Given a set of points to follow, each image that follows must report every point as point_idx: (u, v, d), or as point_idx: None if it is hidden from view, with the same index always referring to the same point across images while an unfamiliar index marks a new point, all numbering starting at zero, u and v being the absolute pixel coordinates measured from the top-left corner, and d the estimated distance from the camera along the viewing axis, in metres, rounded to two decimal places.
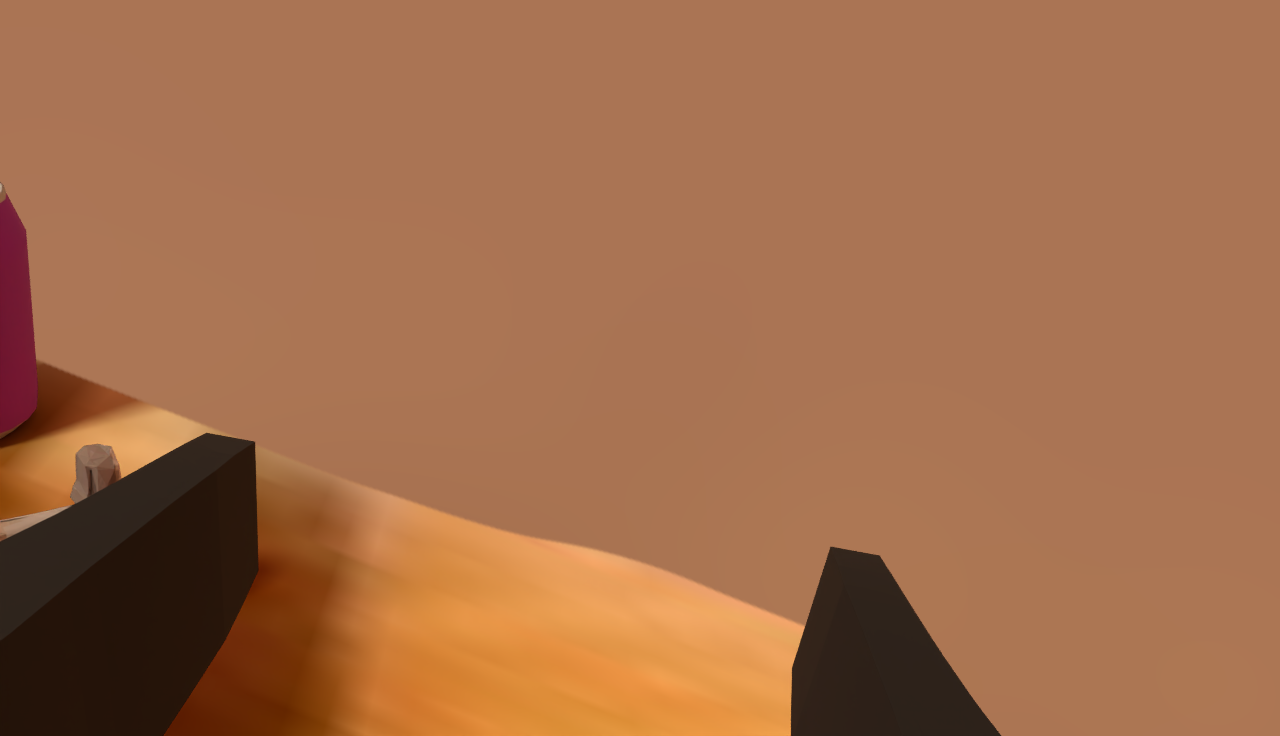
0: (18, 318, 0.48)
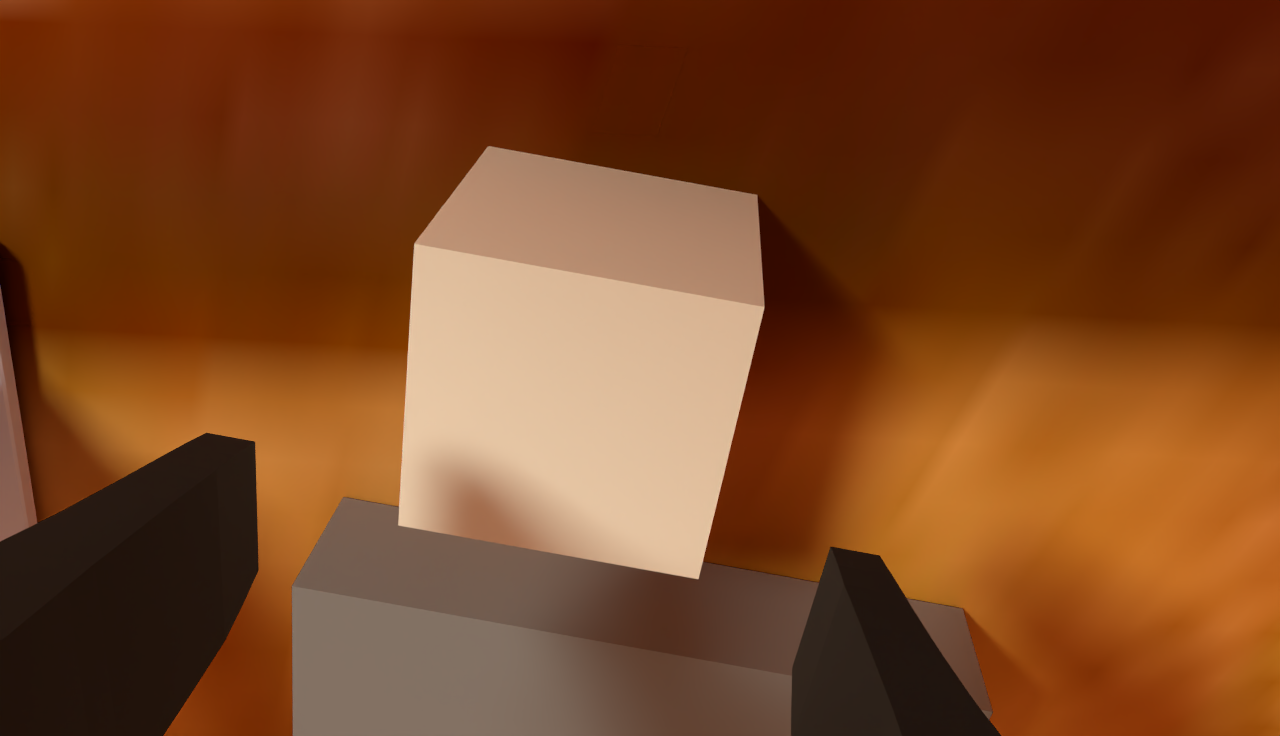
0: None
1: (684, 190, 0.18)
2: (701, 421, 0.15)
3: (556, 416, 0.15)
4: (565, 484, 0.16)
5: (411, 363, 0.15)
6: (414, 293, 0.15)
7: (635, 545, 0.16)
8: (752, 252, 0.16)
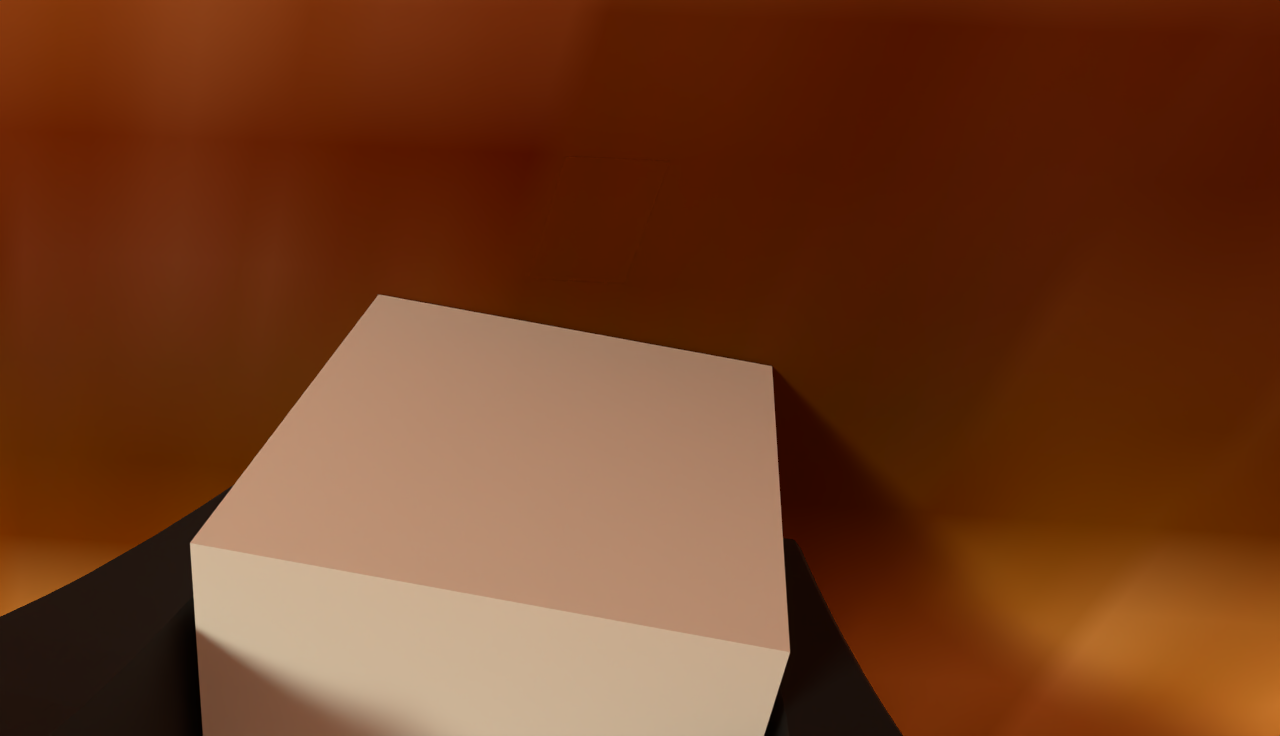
0: None
1: (664, 368, 0.12)
2: None
3: None
4: None
5: (207, 710, 0.09)
6: (200, 613, 0.09)
7: None
8: (767, 505, 0.10)
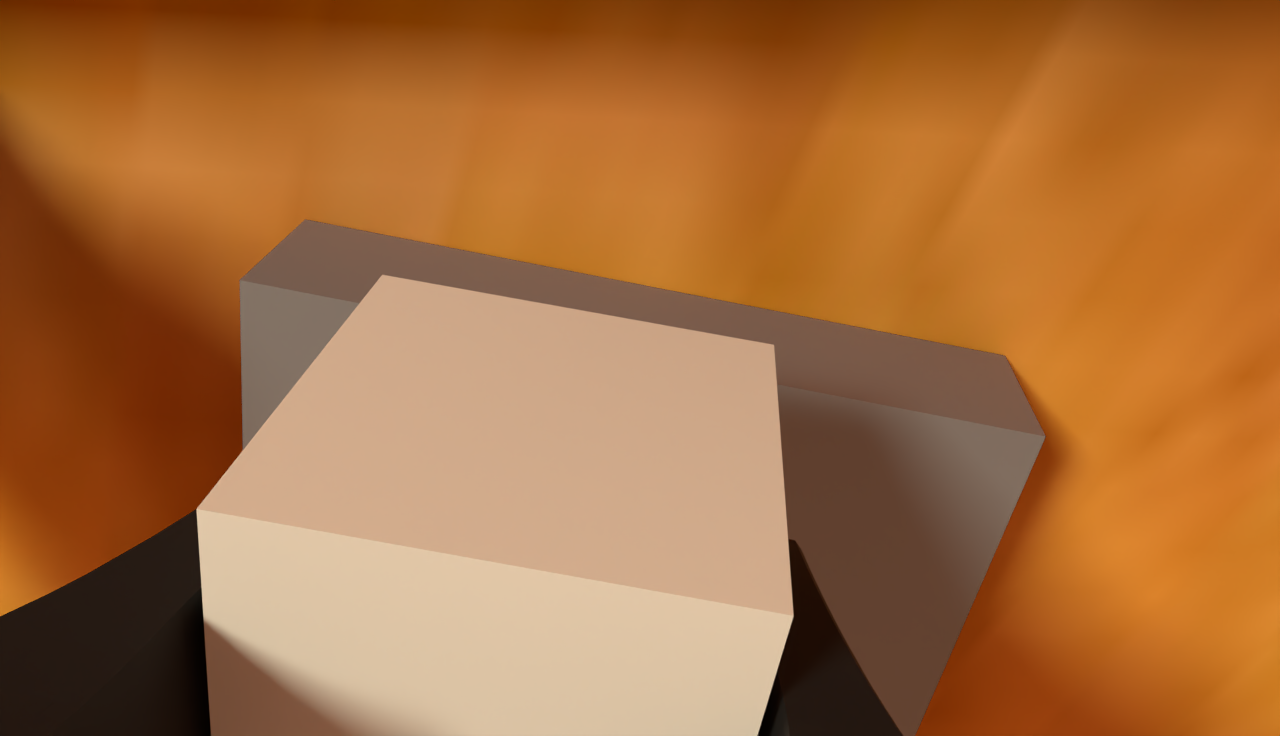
0: None
1: (666, 346, 0.12)
2: None
3: None
4: None
5: (213, 680, 0.09)
6: (206, 580, 0.09)
7: None
8: (769, 476, 0.10)
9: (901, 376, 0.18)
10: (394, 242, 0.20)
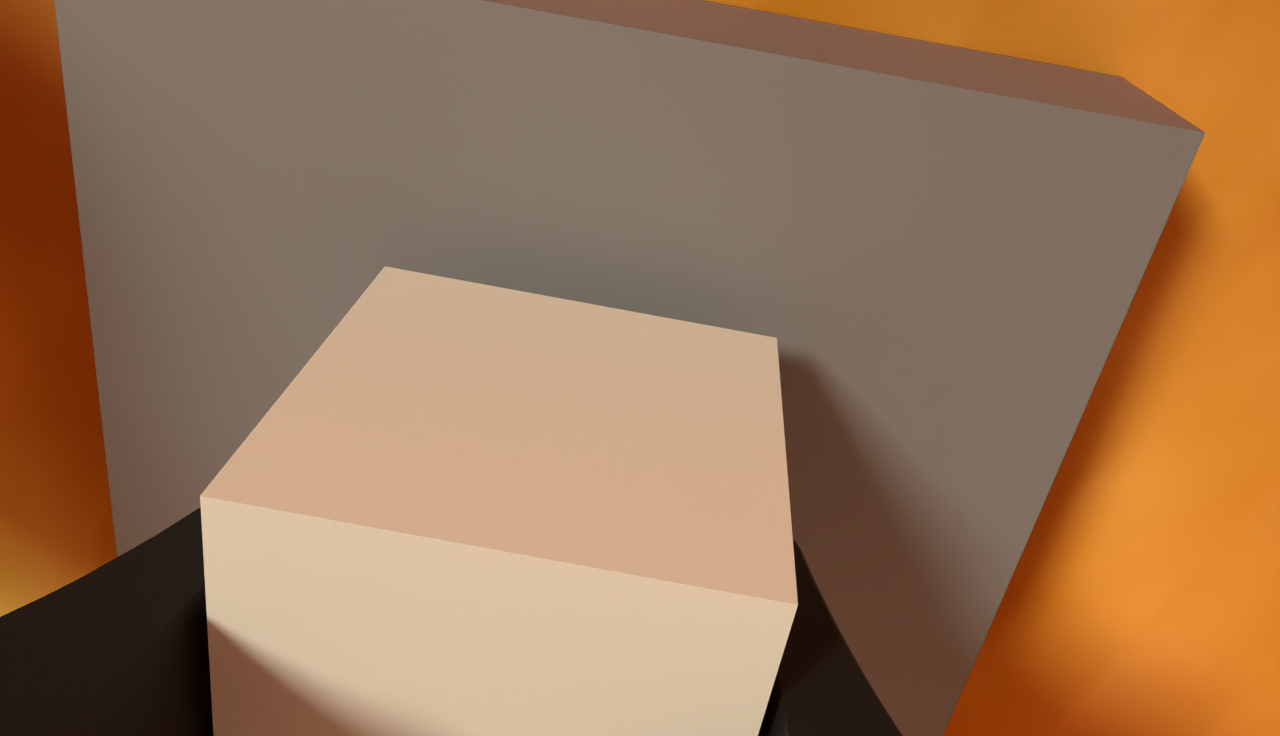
0: None
1: (669, 338, 0.12)
2: None
3: None
4: None
5: (215, 668, 0.09)
6: (209, 568, 0.09)
7: None
8: (773, 467, 0.10)
9: (989, 74, 0.13)
10: None
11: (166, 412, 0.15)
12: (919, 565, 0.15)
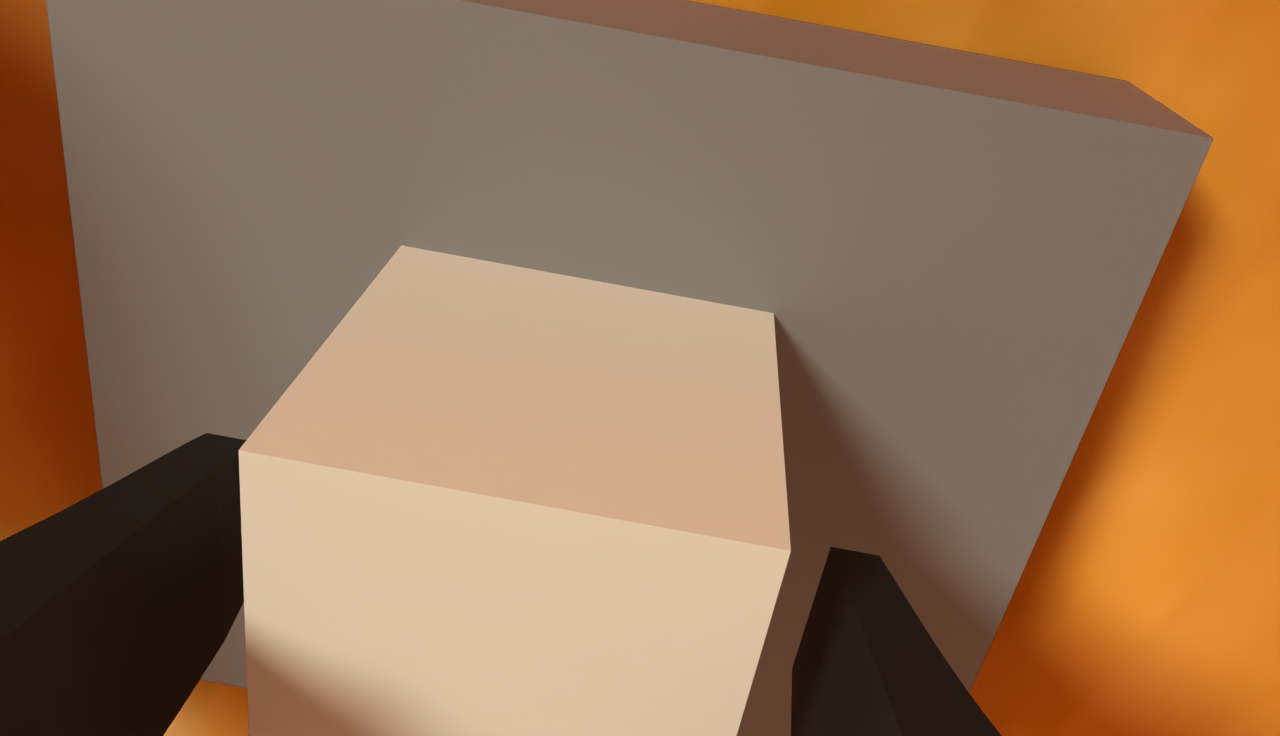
0: None
1: (672, 313, 0.13)
2: (692, 701, 0.10)
3: (474, 688, 0.10)
4: None
5: (250, 614, 0.10)
6: (246, 519, 0.09)
7: None
8: (769, 430, 0.11)
9: (994, 79, 0.13)
10: None
11: (161, 419, 0.15)
12: (923, 575, 0.15)
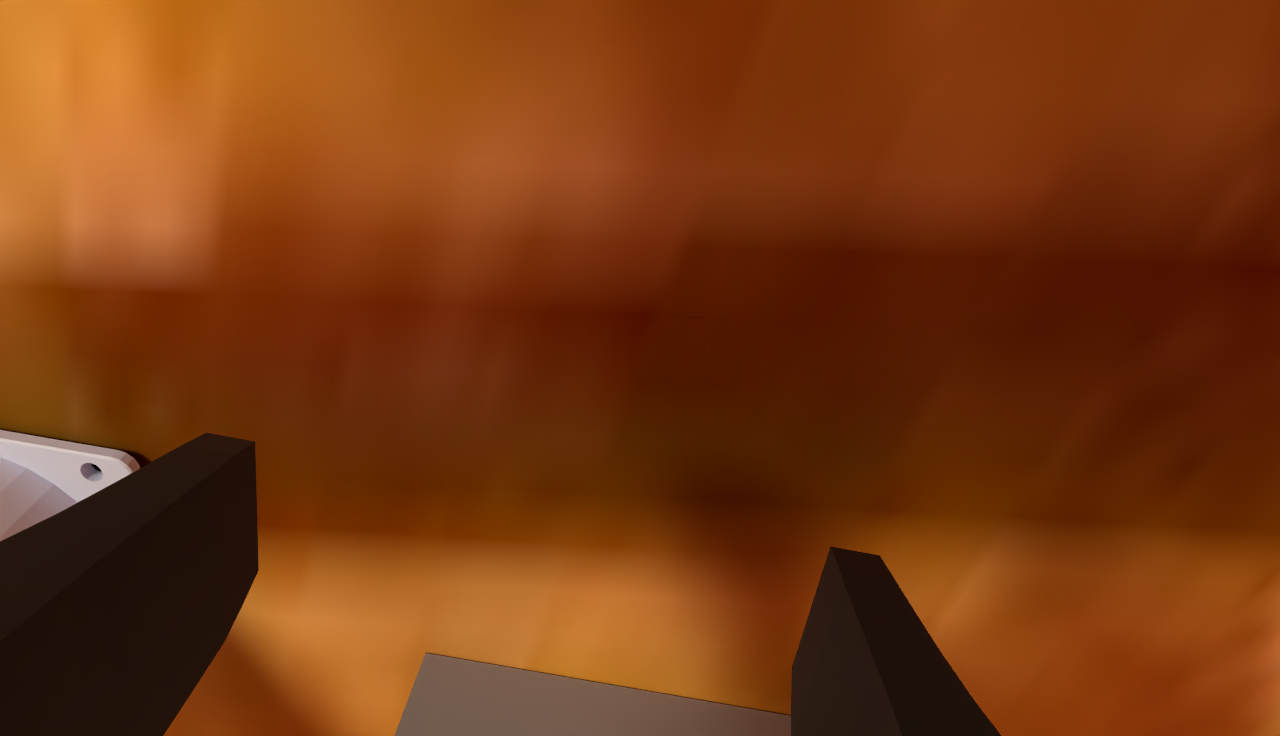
0: None
1: None
2: None
3: None
4: None
5: None
6: None
7: None
8: None
9: None
10: (493, 672, 0.26)
11: None
12: None
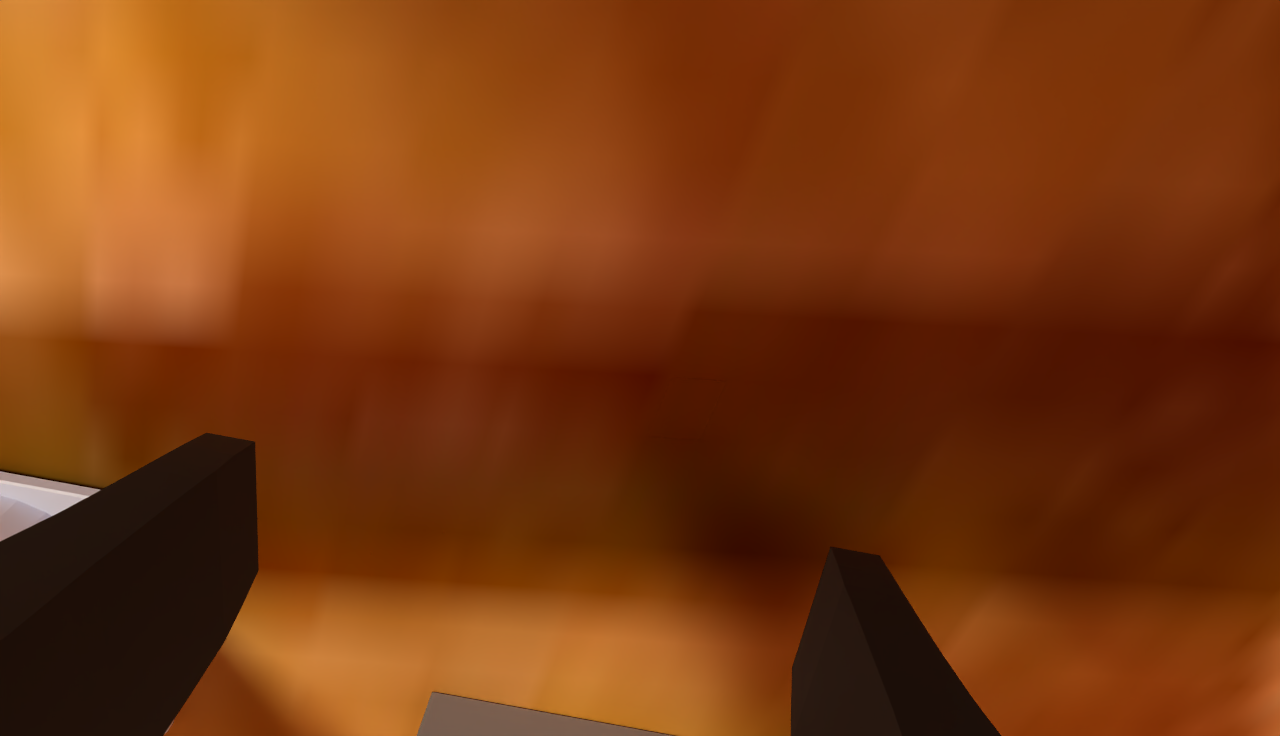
0: None
1: None
2: None
3: None
4: None
5: None
6: None
7: None
8: None
9: None
10: (498, 711, 0.27)
11: None
12: None
